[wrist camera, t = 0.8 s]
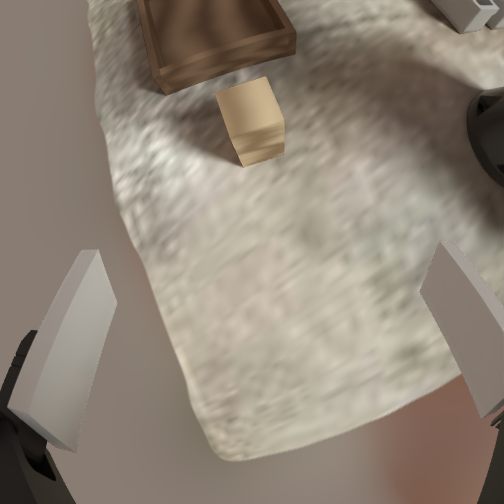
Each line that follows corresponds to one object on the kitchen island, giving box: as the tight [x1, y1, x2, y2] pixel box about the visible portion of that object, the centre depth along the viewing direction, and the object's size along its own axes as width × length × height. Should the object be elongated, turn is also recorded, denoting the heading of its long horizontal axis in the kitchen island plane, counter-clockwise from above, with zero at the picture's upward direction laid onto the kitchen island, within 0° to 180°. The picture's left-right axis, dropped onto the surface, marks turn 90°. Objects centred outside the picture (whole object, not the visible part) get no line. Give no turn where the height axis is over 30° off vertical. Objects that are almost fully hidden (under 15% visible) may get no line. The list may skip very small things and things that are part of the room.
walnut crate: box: [136, 0, 296, 96], centre depth 34 cm, size 18×22×5 cm
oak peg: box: [215, 77, 285, 168], centre depth 31 cm, size 5×5×10 cm
